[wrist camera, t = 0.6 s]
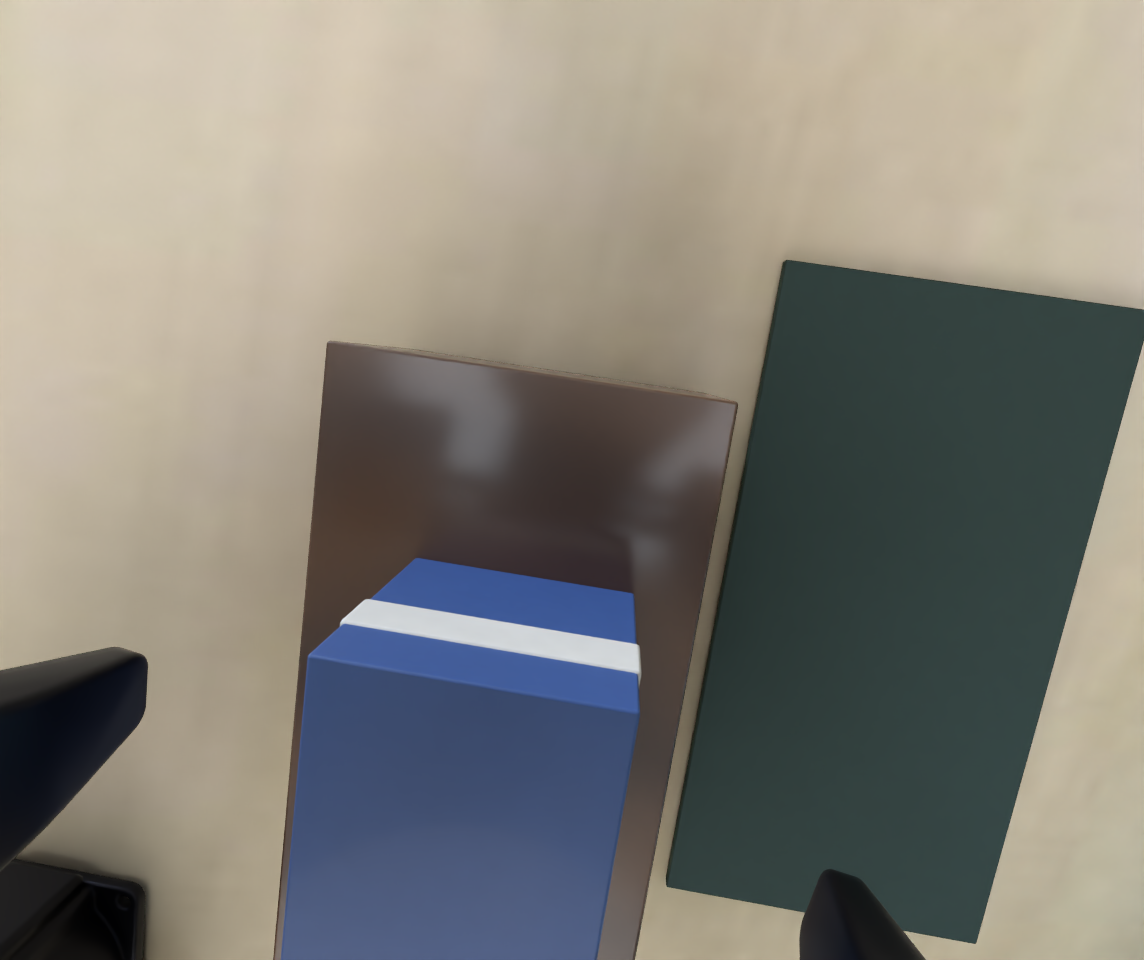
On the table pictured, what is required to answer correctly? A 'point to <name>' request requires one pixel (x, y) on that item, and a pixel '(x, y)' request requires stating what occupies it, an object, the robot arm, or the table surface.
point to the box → (463, 770)
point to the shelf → (523, 526)
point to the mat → (897, 587)
